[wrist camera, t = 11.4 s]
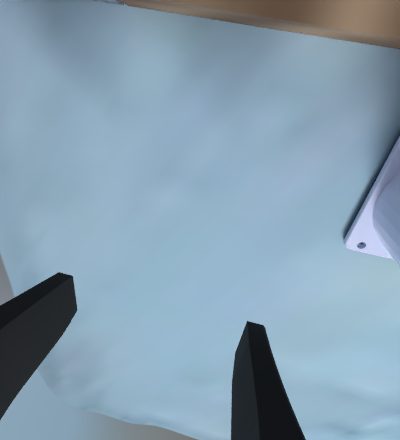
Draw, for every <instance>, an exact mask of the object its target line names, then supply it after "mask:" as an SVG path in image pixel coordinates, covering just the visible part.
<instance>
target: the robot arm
mask: <svg viewBox="0 0 400 440" xmlns="http://www.w3.org/2000/svg"><path fill="white" fill-rule="evenodd" d="M360 242H364V243H363V244H362V245H357V244H358V243H360ZM344 244H345V246H346V247H347V248H348V249H350V250H355V251H359V252H364V253H368V254H372V255H377V256H381V257H386V258H390V259H394V260H395V261H396V263H397V264H398V265H399V267H400V136H399V138H398V140H397V142H396V144H395V146H394V147H393V149H392V151H391V153H390V155H389V157H388V159H387V160H386V162H385V164H384V166H383V168H382V170H381V172H380V174H379V175H378V177H377V179H376V181H375V183H374V185H373V187H372V189H371V190H370V192H369V194H368V196H367V198H366V200H365V202H364V203H363V205H362V207H361V209H360V211H359V213H358V215H357V217H356V218H355V220H354V222H353V224H352V226H351V228H350V230H349V232H348V233H347V235H346V237H345V239H344ZM76 311H77V304H76V297H75V289H74V282H73V276H71V275H67V274H63V273H57V274H55V275H53V276H52V277H50V278H48V279H46V280H45V281H43V282H41V283H39V284H38V285H36V286H34V287H32V288H31V289H29V290H27V291H25V292H24V293H22V294H20V295H18V296H17V297H15V298H13V299H11V300H10V301H8V302H6V303H4V304H2V305H1V306H0V420H1V418H2V416H3V415H4V413H5V412H6V410H7V409H8V407H9V406H10V404H11V403H12V401H13V400H14V398H15V397H16V395H17V394H18V393H19V391H20V390H21V389H22V387H23V386H24V385H25V383H26V382H27V381H28V379H29V378H30V377H31V375H32V374H33V373H34V372H35V370H36V369H37V368H38V366H39V365H40V364H41V362H42V361H43V360H44V359H45V357H46V356H47V355H48V353H49V352H50V351H51V349H52V348H53V347H54V345H55V344H56V343H57V341H58V340H59V339H60V337H61V336H62V335H63V333H64V332H65V330H66V328H67V327H68V325H69V324H70V322H71V320H72V318H73V317H74V315H75V313H76ZM231 440H306V439H305V437H304V435H303V432H302V430H301V428H300V426H299V423H298V421H297V418H296V416H295V414H294V411H293V409H292V407H291V404H290V402H289V399H288V397H287V394H286V391H285V389H284V386H283V383H282V380H281V378H280V375H279V372H278V369H277V367H276V364H275V360H274V357H273V354H272V351H271V348H270V345H269V341H268V337H267V334H266V330H265V327H264V326H263V325H260V324H256V323H252V322H249V321H247V323H246V326H245V329H244V331H243V334H242V337H241V339H240V342H239V345H238V347H237V350H236V353H235V361H234V369H233V379H232V418H231Z"/></svg>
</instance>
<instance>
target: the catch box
mask: <svg viewBox="0 0 400 440" xmlns="http://www.w3.org/2000/svg"><path fill="white" fill-rule="evenodd" d="M96 1H102V2H108V3H115V4H121V5H124V3H123V2H121V1H120V0H96Z"/></svg>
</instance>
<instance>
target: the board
mask: <svg viewBox="0 0 400 440" xmlns="http://www.w3.org/2000/svg"><path fill="white" fill-rule="evenodd" d="M120 1H121V2H123V3H125V4H126V5H128V6H133V7H140V8H146V9H152V10H158V11H165V12H171V13H177V14H183V15H190V16H196V17H202V18H208V19H215V20H221V21H227V22H233V23H240V24H246V25H252V26H258V27H265V28H271V29H277V30H283V31H290V32H296V33H302V34H308V35H315V36H321V37H327V38H333V39H340V40H346V41H352V42H358V43H365V44H371V45H377V46H383V47H390V48H396V49H400V0H120Z"/></svg>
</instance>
